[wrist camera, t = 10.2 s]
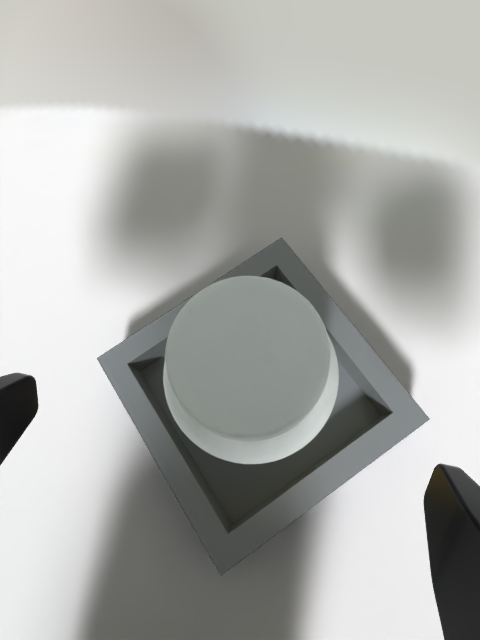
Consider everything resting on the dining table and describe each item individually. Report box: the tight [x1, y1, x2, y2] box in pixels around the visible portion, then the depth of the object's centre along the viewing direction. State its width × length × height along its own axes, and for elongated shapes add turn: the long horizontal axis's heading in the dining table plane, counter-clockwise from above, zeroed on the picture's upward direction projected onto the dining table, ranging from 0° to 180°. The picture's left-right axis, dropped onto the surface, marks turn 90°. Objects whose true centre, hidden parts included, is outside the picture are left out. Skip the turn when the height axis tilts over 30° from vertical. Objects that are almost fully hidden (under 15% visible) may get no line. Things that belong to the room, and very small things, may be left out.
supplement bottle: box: [163, 276, 339, 464], centre depth 14 cm, size 5×5×10 cm
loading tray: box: [97, 238, 429, 575], centre depth 18 cm, size 10×10×2 cm
